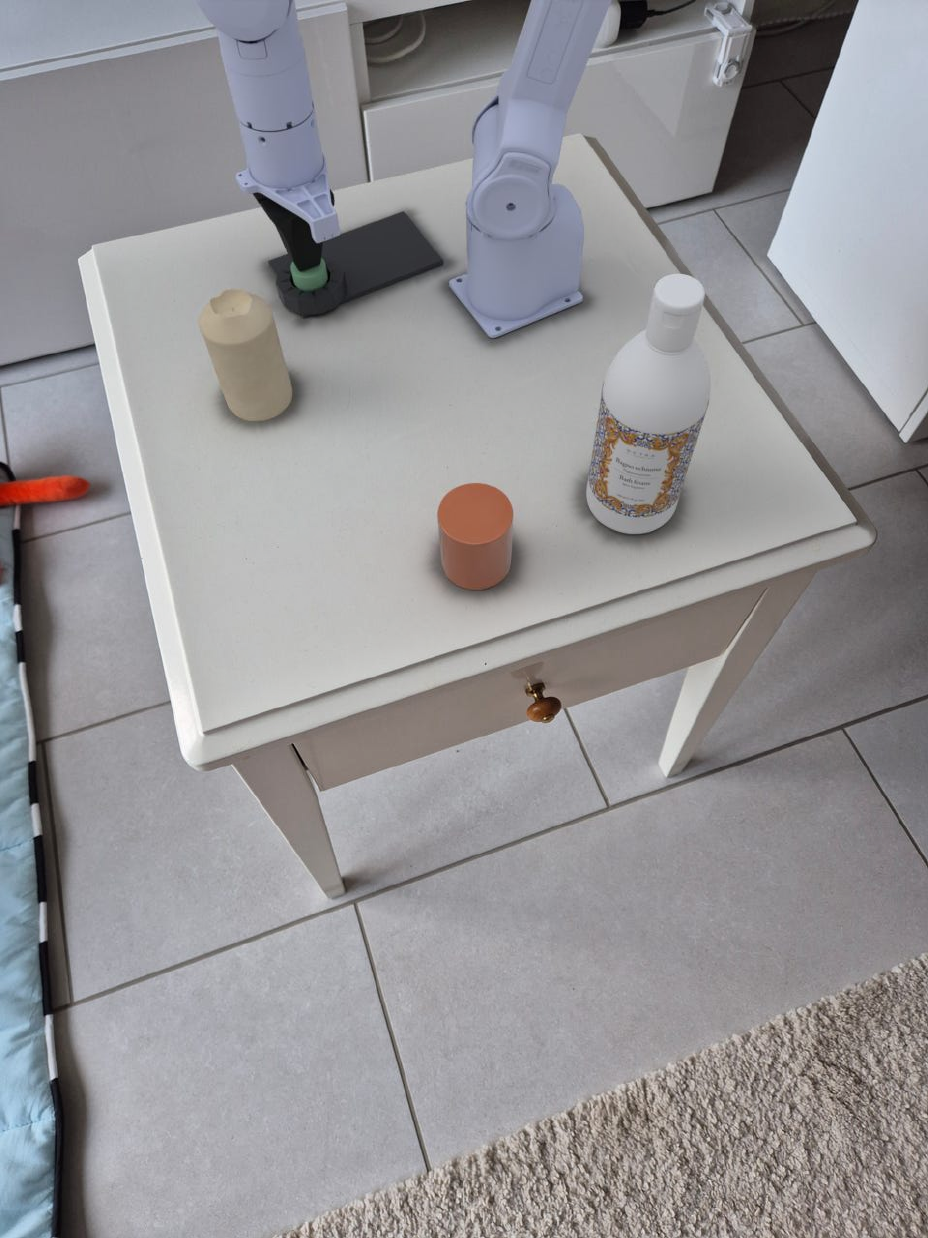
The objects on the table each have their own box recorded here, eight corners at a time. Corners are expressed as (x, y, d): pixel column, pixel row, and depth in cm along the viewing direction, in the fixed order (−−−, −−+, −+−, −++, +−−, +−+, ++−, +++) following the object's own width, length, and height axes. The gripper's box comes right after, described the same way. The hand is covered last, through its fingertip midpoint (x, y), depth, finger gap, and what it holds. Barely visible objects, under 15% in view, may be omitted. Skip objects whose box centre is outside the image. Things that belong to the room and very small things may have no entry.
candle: (282, 426, 73) (254, 332, 65) (218, 417, 74) (182, 323, 65) (301, 377, 76) (277, 280, 67) (239, 368, 77) (207, 272, 68)
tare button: (319, 263, 80) (316, 249, 79) (333, 284, 79) (330, 269, 77) (288, 275, 79) (284, 260, 78) (301, 296, 78) (298, 281, 77)
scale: (404, 215, 86) (402, 195, 84) (447, 270, 82) (446, 249, 80) (259, 269, 83) (253, 249, 81) (297, 328, 79) (292, 308, 77)
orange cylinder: (489, 521, 68) (489, 471, 63) (524, 571, 66) (527, 524, 61) (428, 549, 67) (424, 501, 62) (462, 601, 65) (460, 556, 60)
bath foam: (575, 524, 68) (606, 318, 50) (596, 455, 71) (633, 239, 54) (666, 547, 67) (730, 343, 49) (683, 475, 70) (750, 261, 53)
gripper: (189, 75, 68) (232, 230, 80) (262, 180, 62) (297, 332, 74) (275, 48, 70) (305, 204, 81) (354, 148, 63) (375, 301, 75)
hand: (307, 263), depth 78 cm, fingers closed
